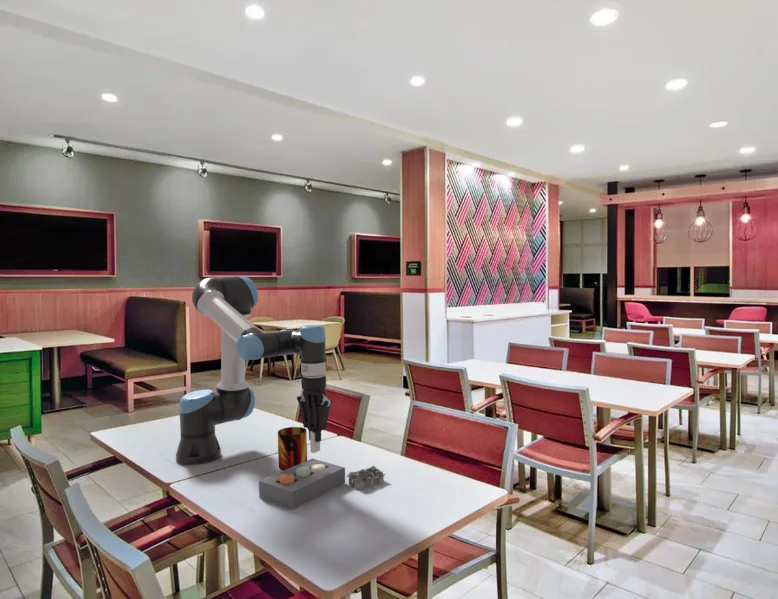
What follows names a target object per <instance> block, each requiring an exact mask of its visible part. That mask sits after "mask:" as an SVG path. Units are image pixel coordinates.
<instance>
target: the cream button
mask: <svg viewBox="0 0 778 599" xmlns="http://www.w3.org/2000/svg"><path fill="white" fill-rule="evenodd" d="M311 468H312V470H315V471H321V470H323V469H325V465H323V464H315V465H313V466H312V467H311Z"/></svg>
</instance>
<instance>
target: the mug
mask: <svg viewBox="0 0 778 599" xmlns="http://www.w3.org/2000/svg"><path fill="white" fill-rule="evenodd" d="M307 431H308V430H307V428H304V427H302V426H289V427H284V428H281V429H279V430H277V450H278V451H277V452H278V454H277V456H278V460H277V462H278V469H279V470H281V471H284V470H286V469H288V468H291V467H293V466H296V465H298V464H301V463H303V462H305V461H308V440H307V439H308V438H307V435H308V433H307Z"/></svg>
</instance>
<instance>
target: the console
mask: <svg viewBox="0 0 778 599" xmlns="http://www.w3.org/2000/svg"><path fill="white" fill-rule="evenodd" d="M315 464H323V465H325V469H323V470H321V471H315V470H312V468H311V467H312V466H313V465H315ZM303 466H306V467H309V468H310V476H307V477H305V478H300V477H297V476H296V469H297V468H298V467H303ZM285 473H292V474H294V483H292V484H289V485H287V486H286V485H282V484H280V477H279V476H280V475H282V474H285ZM344 484H346V468H345V466H340V465H337V464H333V463H330V462H327V461H322V460H319V459H315V458H311V459H307V461H305V462H303V463H301V464H298V465H296V466H293V467H291V468H288V469H286V470H281V471H279V472H276V473H274V474H272V475H269V476H267V477H264V478H261V479H260V480H258V493H259V494H258V495H259V498H260V499H262V500H265V501H267V502H270V503H273V504H277V505H279V506H282V507H284V508H287V509H290V510H291V511H292V510H293V511H294V510H296V509H297V508H299V507H301V506H303V505H305V504H307V503H309V502H310V501H313V500H316V499H317V498H319V497H321V496H323V495H324V494H327V493H328V492H332V491H333V490H335V489H338V487H340V486H343V485H344Z"/></svg>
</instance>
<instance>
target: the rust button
mask: <svg viewBox="0 0 778 599" xmlns="http://www.w3.org/2000/svg"><path fill="white" fill-rule="evenodd" d="M279 477H280V484H282V485H286V486H287V485H289V484H292V483H294V474H292V473H285V474H282V475H280V476H279Z"/></svg>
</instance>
